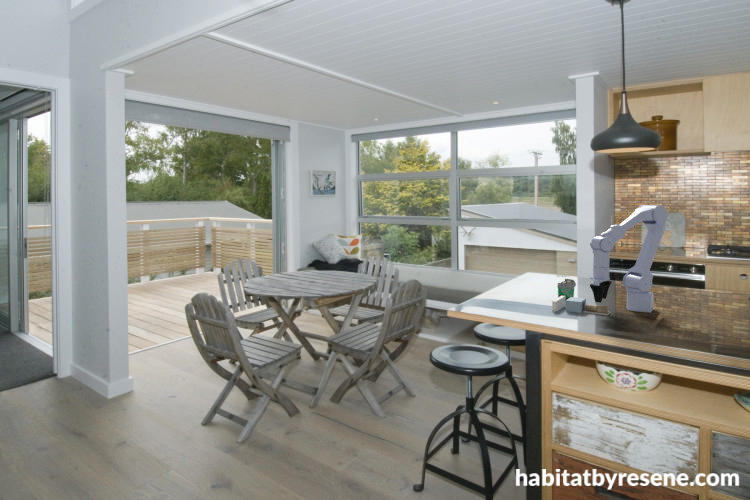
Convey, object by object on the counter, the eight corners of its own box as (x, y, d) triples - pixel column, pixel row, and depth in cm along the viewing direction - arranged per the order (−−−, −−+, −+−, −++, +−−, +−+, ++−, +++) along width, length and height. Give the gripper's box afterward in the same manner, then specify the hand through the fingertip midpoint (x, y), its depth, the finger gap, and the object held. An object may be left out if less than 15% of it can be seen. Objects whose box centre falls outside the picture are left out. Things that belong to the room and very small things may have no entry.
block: (585, 312, 194) (586, 298, 193) (581, 316, 189) (581, 301, 188) (570, 310, 198) (570, 297, 197) (565, 314, 192) (565, 300, 192)
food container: (571, 306, 205) (572, 284, 203) (557, 305, 208) (557, 283, 207) (579, 300, 214) (579, 279, 213) (565, 299, 218) (565, 278, 217)
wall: (565, 308, 202) (565, 295, 201) (556, 314, 192) (556, 301, 192) (561, 308, 203) (561, 295, 202) (552, 314, 193) (552, 301, 193)
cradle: (610, 315, 187) (610, 311, 187) (607, 318, 183) (607, 314, 183) (586, 313, 193) (586, 308, 193) (583, 315, 189) (583, 311, 189)
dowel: (608, 312, 187) (608, 305, 186) (606, 314, 184) (606, 307, 184) (587, 310, 192) (587, 303, 191) (585, 312, 189) (585, 304, 189)
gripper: (595, 263, 193) (594, 295, 195) (585, 268, 182) (585, 302, 183) (614, 264, 189) (613, 297, 190) (605, 269, 177) (604, 304, 179)
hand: (600, 300), depth 186 cm, fingers open, 7 cm apart
